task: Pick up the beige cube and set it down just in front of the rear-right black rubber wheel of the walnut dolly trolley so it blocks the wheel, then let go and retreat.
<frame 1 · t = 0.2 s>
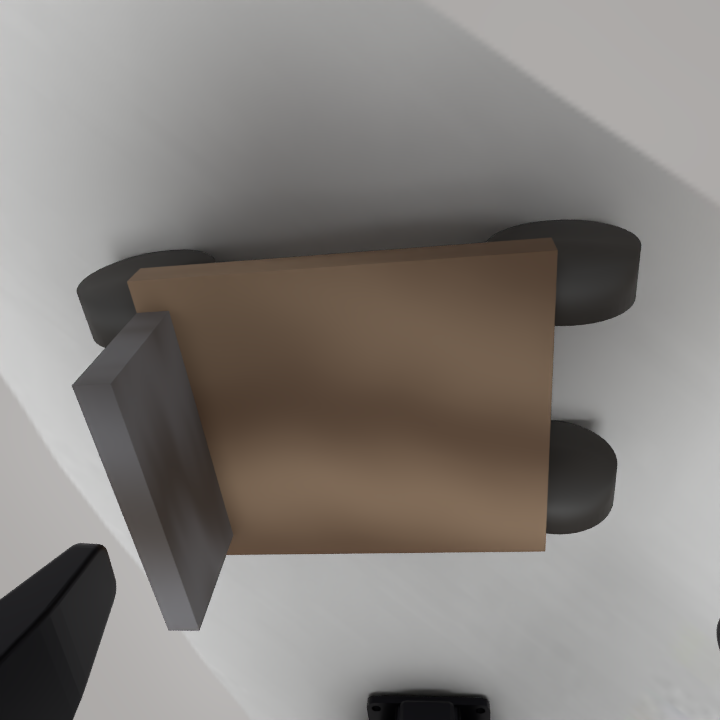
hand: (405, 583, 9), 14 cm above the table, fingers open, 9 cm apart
trolley: (367, 358, 24), on the table
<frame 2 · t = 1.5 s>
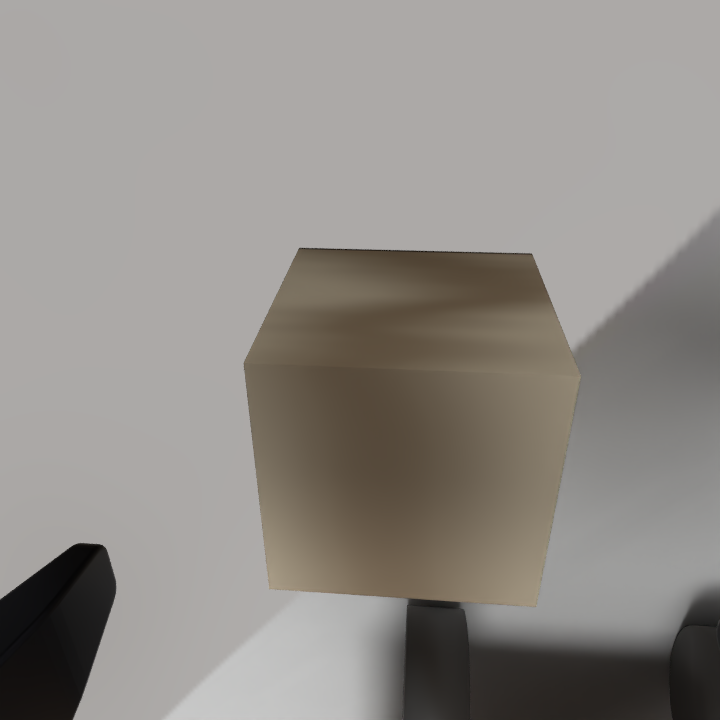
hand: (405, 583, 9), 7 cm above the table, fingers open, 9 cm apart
beige cube: (410, 351, 15), on the table
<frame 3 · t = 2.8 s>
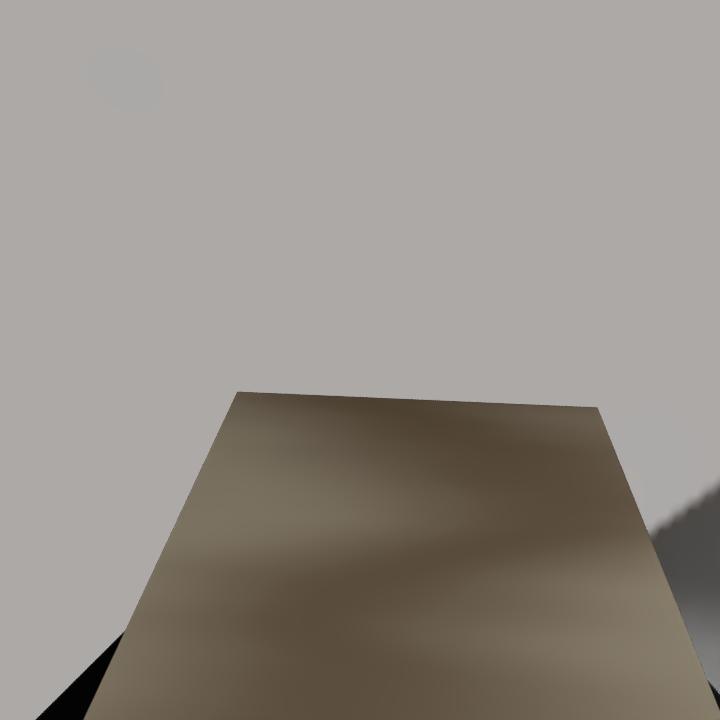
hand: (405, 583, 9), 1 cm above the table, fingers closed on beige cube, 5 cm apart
beige cube: (407, 530, 10), on the table, touching gripper
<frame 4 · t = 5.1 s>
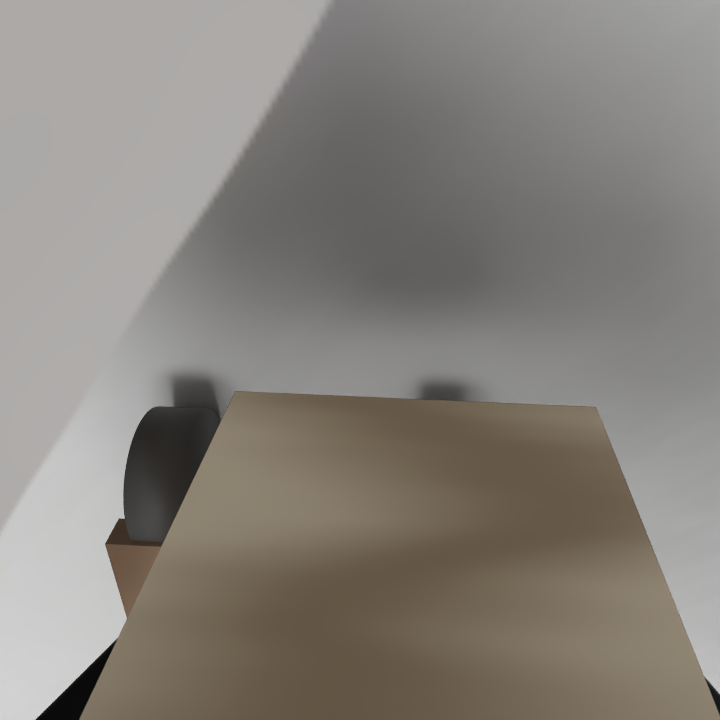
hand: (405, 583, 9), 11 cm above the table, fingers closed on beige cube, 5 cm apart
beige cube: (406, 530, 10), point 10 cm above the table, touching gripper
trolley: (324, 573, 25), on the table
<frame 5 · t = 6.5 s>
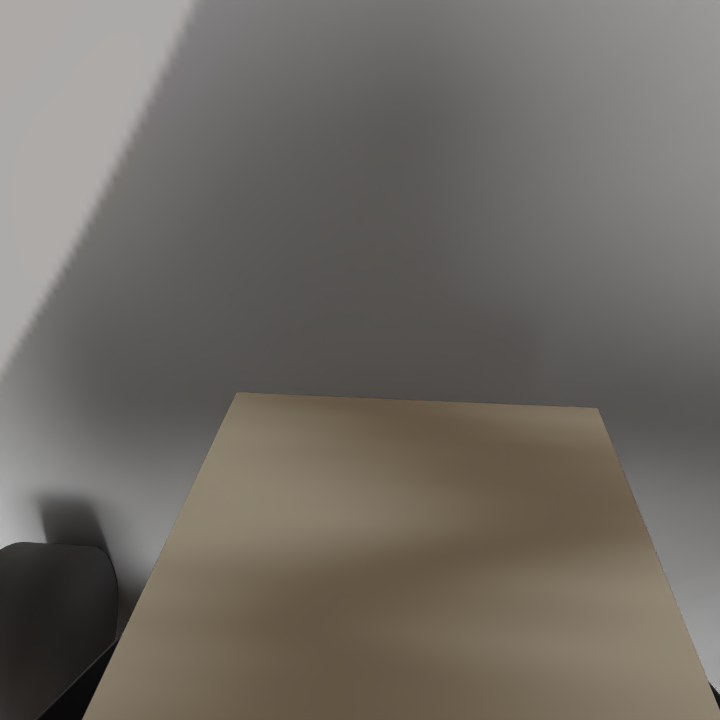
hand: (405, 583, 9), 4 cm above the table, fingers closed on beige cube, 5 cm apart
beige cube: (407, 531, 10), point 3 cm above the table, touching gripper
when the fingers open (2 cm above the table, at t = 7.8 s): beige cube drops 1 cm, on the table.
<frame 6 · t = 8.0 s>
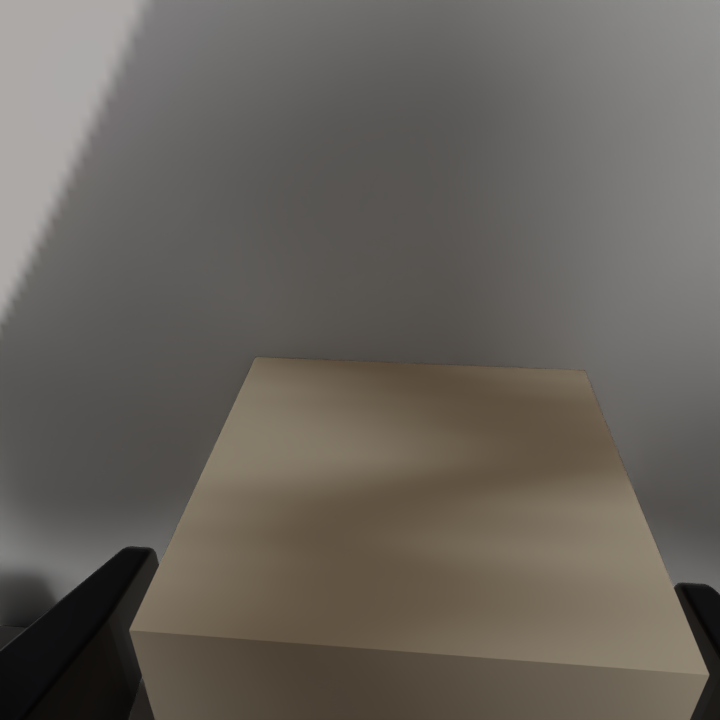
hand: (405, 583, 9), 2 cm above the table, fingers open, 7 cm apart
beige cube: (411, 485, 11), on the table
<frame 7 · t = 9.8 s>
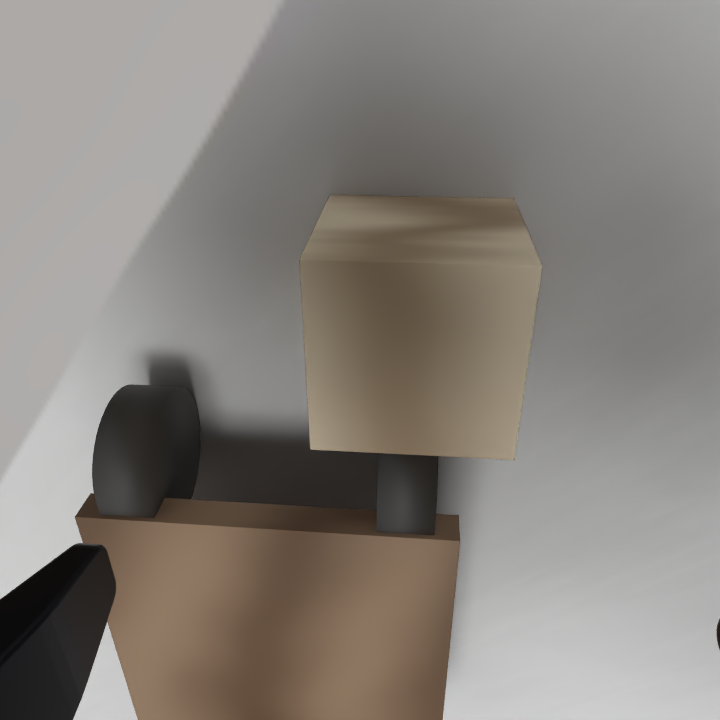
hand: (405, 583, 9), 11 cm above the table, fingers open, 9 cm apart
beige cube: (417, 280, 19), on the table
trolley: (301, 557, 25), on the table
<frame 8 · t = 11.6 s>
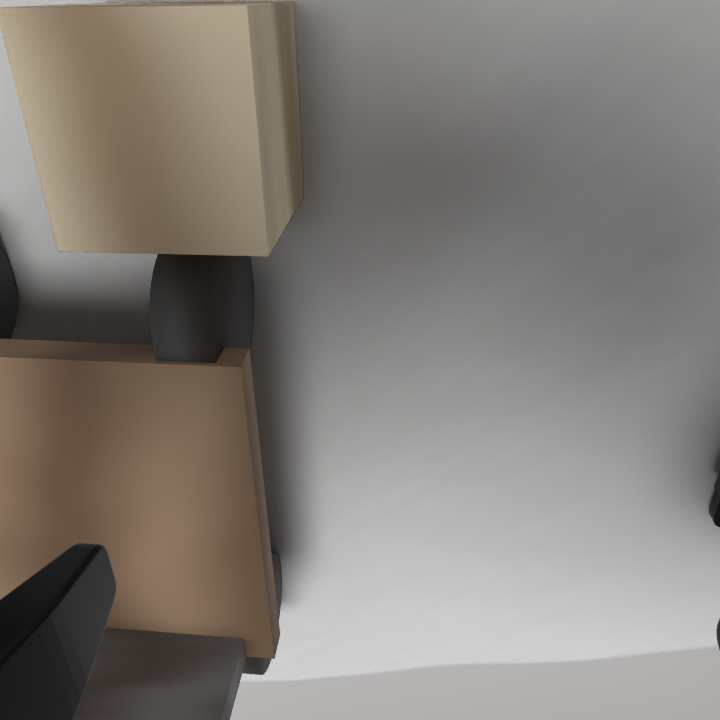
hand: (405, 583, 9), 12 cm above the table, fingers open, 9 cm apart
beige cube: (211, 104, 18), on the table
trolley: (142, 437, 24), on the table
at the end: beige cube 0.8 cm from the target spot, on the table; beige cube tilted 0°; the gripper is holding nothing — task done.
